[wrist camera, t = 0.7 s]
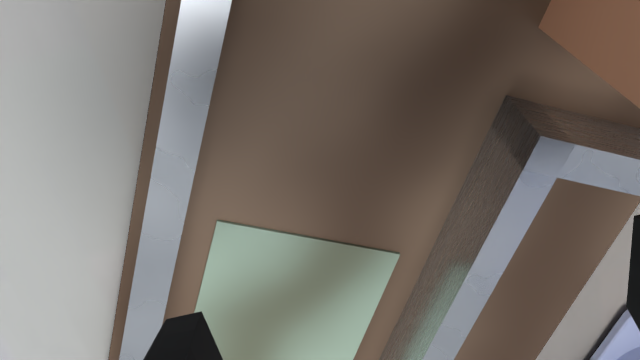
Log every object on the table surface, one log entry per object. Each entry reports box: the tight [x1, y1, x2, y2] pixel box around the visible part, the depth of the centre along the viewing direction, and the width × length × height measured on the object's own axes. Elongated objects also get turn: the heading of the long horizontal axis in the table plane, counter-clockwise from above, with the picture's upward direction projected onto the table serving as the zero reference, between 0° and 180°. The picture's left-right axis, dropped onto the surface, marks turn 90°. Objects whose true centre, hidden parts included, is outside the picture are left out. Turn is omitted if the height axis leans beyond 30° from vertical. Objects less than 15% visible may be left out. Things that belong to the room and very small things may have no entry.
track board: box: [108, 0, 640, 360], centre depth 18 cm, size 16×26×1 cm, turn 164°
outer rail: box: [119, 0, 232, 360], centre depth 17 cm, size 14×22×2 cm, turn 163°
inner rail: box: [379, 95, 640, 360], centre depth 20 cm, size 5×13×2 cm, turn 163°
